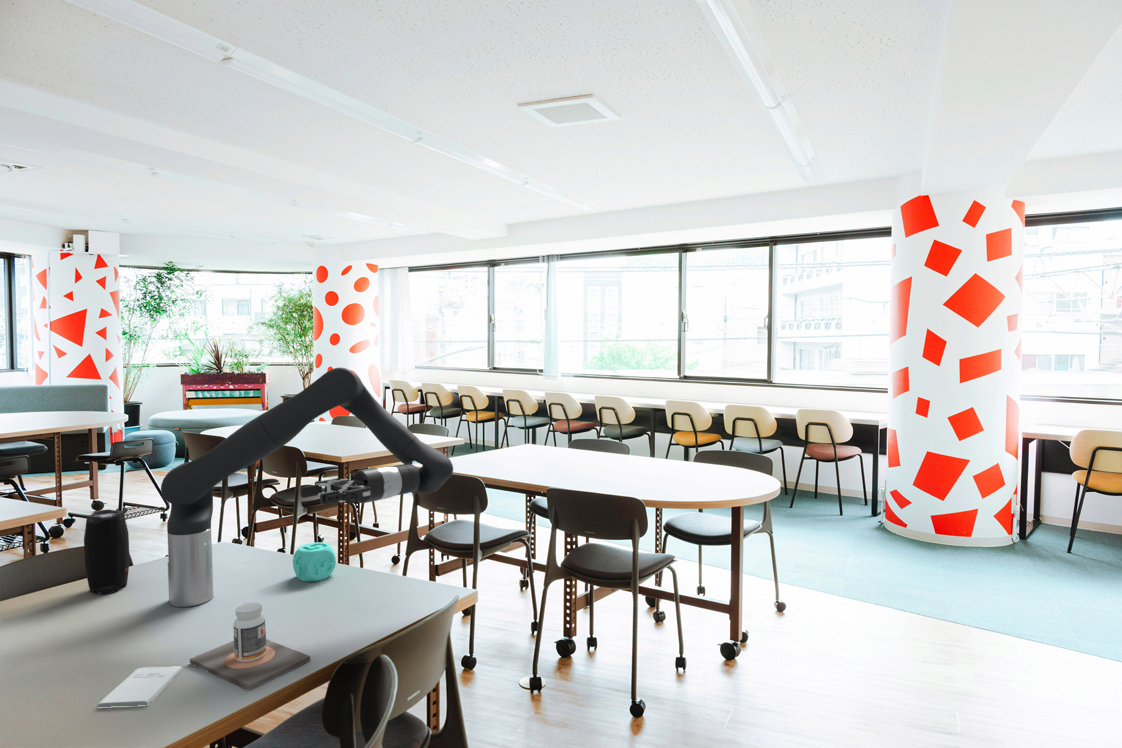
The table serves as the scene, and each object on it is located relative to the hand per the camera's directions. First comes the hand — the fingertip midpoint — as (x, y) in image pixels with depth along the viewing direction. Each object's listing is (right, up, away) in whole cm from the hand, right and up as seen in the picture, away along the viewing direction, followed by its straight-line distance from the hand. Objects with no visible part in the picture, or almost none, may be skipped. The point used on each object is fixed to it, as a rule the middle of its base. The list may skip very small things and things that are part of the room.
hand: (310, 496), depth 143 cm
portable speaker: (-61, -29, +26) cm, 72 cm away
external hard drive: (-23, -32, -21) cm, 45 cm away
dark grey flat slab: (-7, -30, -12) cm, 33 cm away
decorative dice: (-12, -28, +35) cm, 46 cm away
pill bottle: (-7, -30, -12) cm, 33 cm away
